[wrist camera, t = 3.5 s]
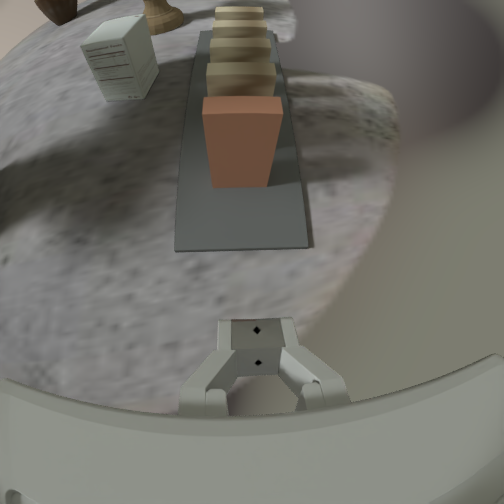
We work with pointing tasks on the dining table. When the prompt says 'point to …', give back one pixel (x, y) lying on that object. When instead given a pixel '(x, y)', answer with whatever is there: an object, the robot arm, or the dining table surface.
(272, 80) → the domino
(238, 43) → the domino
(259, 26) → the domino
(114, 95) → the supplement box
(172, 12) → the oil lamp
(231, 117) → the domino
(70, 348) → the dining table surface
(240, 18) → the domino
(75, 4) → the plant pot
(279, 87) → the mat
